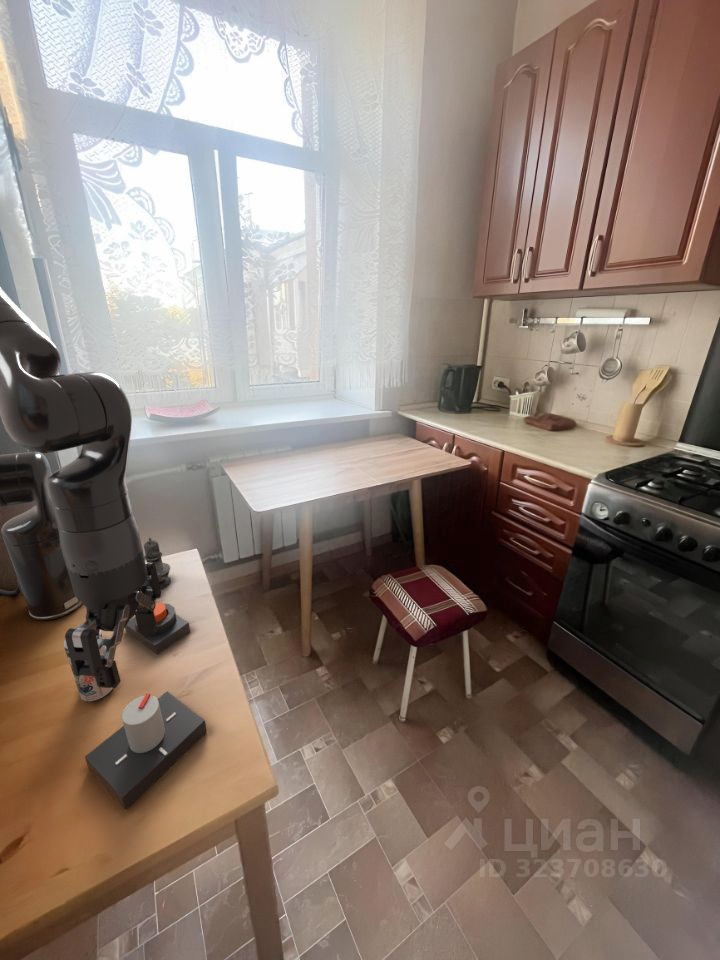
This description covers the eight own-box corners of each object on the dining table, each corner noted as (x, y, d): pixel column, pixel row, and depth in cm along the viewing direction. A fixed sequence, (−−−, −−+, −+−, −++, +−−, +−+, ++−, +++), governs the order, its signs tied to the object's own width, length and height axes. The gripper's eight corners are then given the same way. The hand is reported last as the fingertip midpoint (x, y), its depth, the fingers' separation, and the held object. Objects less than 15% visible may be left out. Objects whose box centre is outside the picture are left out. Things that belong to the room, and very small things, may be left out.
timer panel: (88, 768, 53) (84, 755, 52) (169, 702, 62) (167, 689, 61) (125, 810, 49) (121, 797, 48) (207, 732, 58) (205, 719, 57)
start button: (139, 618, 74) (137, 611, 74) (158, 607, 77) (157, 599, 77) (151, 627, 72) (150, 619, 72) (171, 614, 75) (169, 607, 75)
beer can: (73, 696, 63) (54, 638, 58) (102, 674, 67) (85, 618, 62) (94, 707, 61) (76, 648, 57) (122, 683, 65) (107, 627, 61)
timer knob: (155, 753, 52) (148, 723, 50) (122, 753, 52) (114, 723, 50) (170, 722, 57) (164, 693, 54) (139, 722, 56) (132, 692, 54)
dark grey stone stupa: (161, 593, 87) (152, 546, 82) (138, 589, 88) (128, 542, 83) (178, 577, 92) (170, 532, 88) (155, 573, 93) (147, 529, 89)
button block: (125, 632, 76) (121, 615, 74) (159, 611, 81) (156, 596, 80) (156, 654, 71) (153, 637, 70) (190, 631, 77) (187, 615, 75)
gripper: (111, 521, 52) (133, 617, 58) (21, 589, 39) (62, 704, 45) (167, 523, 52) (183, 620, 58) (96, 593, 39) (127, 708, 45)
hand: (130, 657), depth 51 cm, fingers open, 8 cm apart
